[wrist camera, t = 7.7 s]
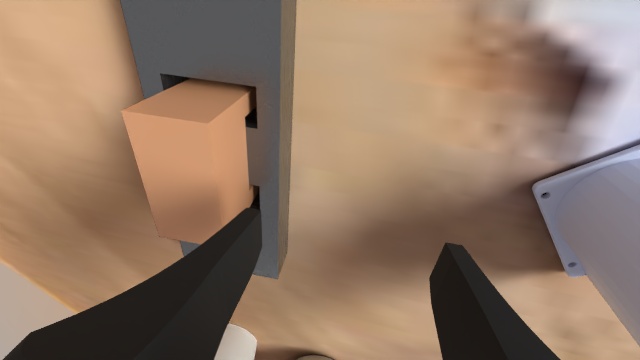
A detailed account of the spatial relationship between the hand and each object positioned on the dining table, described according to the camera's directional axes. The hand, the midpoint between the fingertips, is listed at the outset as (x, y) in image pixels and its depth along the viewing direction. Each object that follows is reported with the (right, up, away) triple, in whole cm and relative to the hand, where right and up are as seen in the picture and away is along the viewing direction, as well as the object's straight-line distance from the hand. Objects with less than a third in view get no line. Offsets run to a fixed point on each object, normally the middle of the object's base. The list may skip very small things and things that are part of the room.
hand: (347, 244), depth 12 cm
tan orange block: (-7, +6, +9) cm, 13 cm away
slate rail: (-7, +6, +9) cm, 13 cm away
